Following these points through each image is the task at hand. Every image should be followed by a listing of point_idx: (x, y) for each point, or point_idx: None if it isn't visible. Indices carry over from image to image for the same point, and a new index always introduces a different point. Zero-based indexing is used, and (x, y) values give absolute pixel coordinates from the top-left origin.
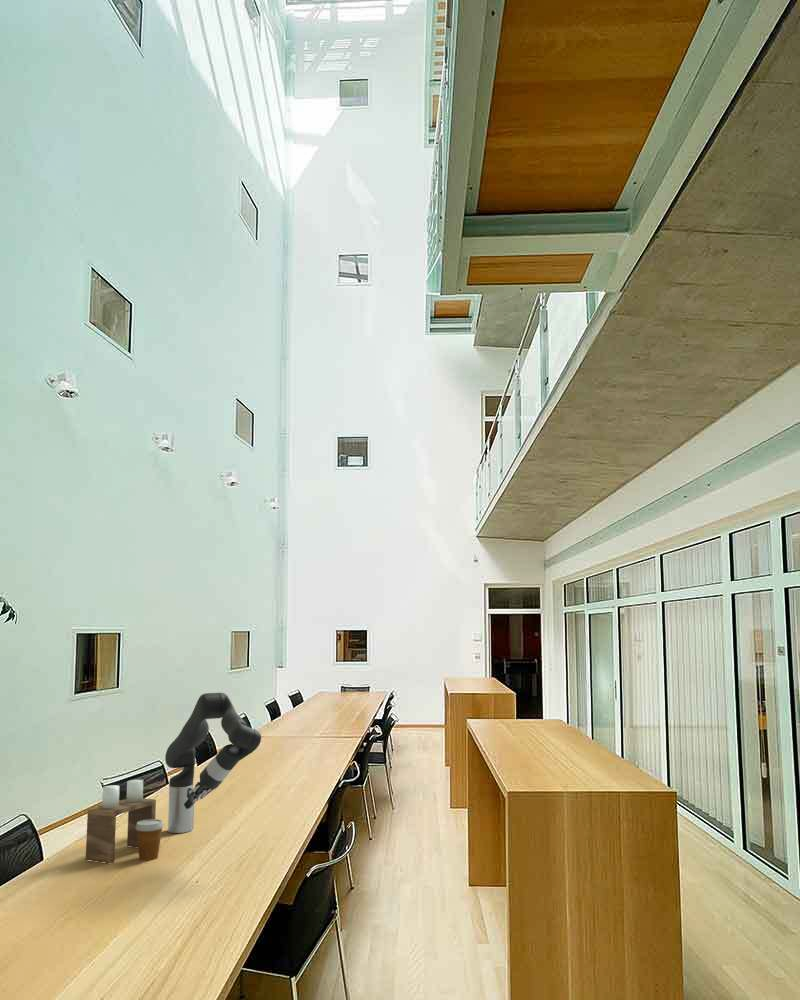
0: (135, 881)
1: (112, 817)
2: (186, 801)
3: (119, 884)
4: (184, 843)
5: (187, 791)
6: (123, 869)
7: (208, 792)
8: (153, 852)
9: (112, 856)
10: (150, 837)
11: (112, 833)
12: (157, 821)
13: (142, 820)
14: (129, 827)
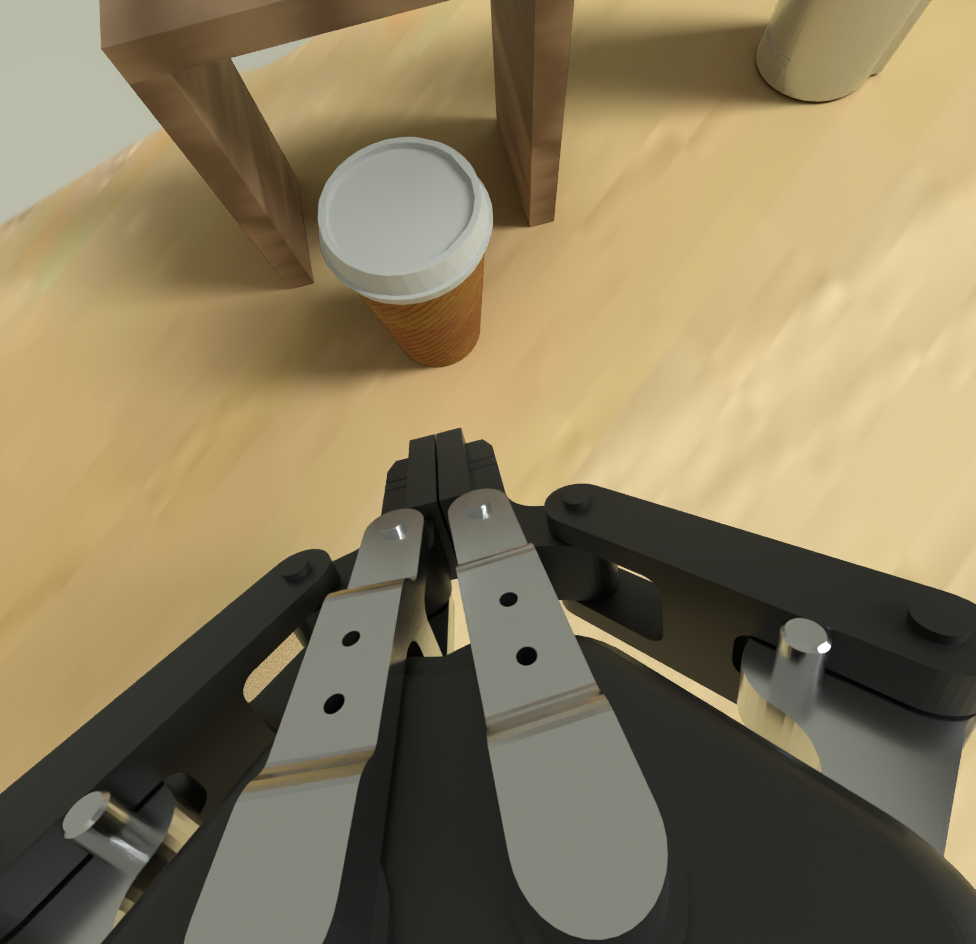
0: (165, 598)
1: (144, 92)
2: (409, 466)
3: (103, 578)
4: (698, 245)
5: (46, 761)
6: (266, 396)
7: (714, 682)
8: (426, 354)
9: (289, 266)
10: (382, 314)
11: (219, 184)
12: (459, 209)
13: (400, 139)
14: (495, 39)
